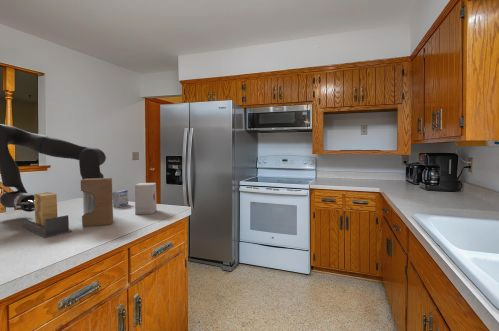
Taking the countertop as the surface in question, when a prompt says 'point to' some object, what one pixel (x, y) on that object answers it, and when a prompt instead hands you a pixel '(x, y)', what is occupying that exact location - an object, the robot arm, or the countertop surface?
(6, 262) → the countertop surface
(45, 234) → the metal track
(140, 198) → the supplement box
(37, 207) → the slider block
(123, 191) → the medicine box
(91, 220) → the decorative block
